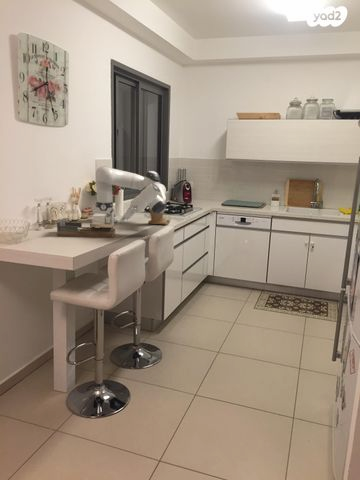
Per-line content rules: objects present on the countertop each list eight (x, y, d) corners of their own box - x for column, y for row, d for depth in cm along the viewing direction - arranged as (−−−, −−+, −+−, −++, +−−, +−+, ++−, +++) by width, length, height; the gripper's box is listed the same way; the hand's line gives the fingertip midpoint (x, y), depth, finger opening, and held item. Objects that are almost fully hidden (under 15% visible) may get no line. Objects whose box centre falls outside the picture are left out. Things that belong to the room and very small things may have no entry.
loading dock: (63, 231, 254) (63, 218, 253) (115, 232, 256) (115, 220, 254) (57, 236, 240) (57, 222, 238) (112, 237, 241) (112, 224, 240)
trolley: (92, 226, 252) (92, 207, 250) (114, 227, 253) (114, 208, 250) (89, 229, 242) (89, 210, 240) (112, 230, 243) (112, 210, 241)
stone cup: (146, 225, 288) (146, 203, 284) (149, 222, 299) (150, 202, 296) (167, 226, 286) (168, 205, 283) (170, 223, 297) (171, 203, 294)
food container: (108, 227, 272) (108, 212, 270) (114, 229, 269) (114, 213, 267) (93, 229, 263) (93, 214, 261) (100, 231, 259) (100, 215, 257)
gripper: (140, 211, 236) (123, 227, 237) (142, 207, 256) (126, 221, 257) (132, 203, 235) (115, 219, 236) (134, 199, 255) (119, 214, 256)
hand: (121, 220), depth 247 cm, fingers closed
